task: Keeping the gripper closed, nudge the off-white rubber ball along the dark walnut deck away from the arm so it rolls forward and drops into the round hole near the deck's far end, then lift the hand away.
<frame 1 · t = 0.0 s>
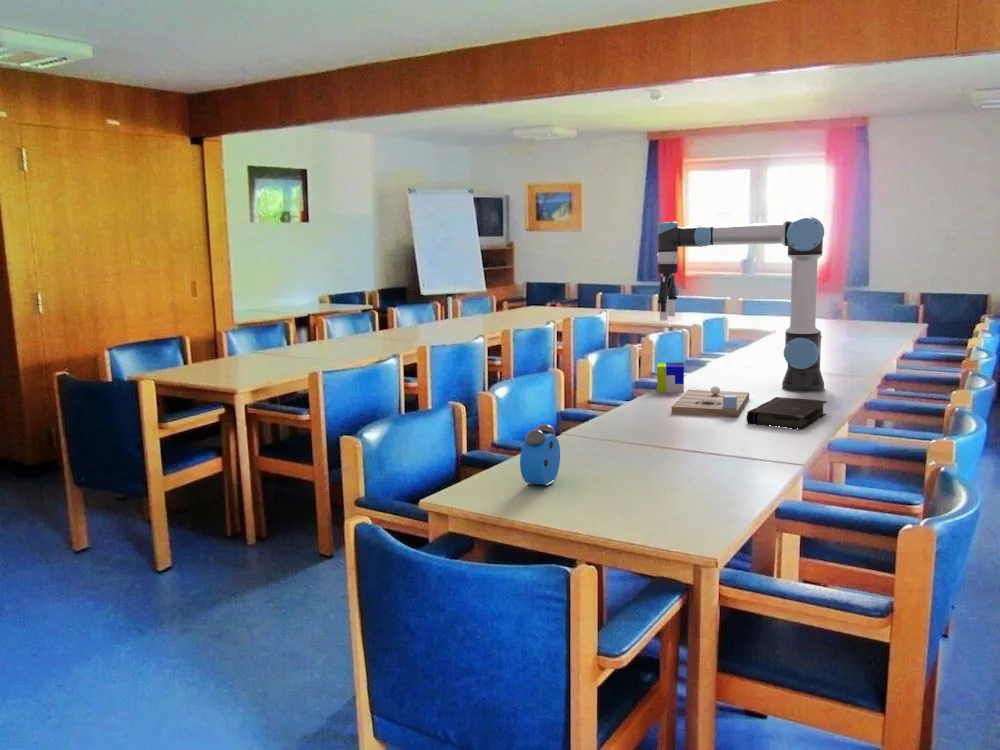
hand: (667, 318, 316), 28 cm above the table, tool pointing down, fingers open, 13 cm apart
blue block: (729, 407, 275), point 2 cm above the table, touching deck
ball: (715, 390, 296), point 4 cm above the table, touching deck
deck: (711, 405, 291), on the table
puzzle toy: (670, 390, 321), on the table
alarm clock: (541, 484, 209), on the table
diary: (788, 421, 268), on the table
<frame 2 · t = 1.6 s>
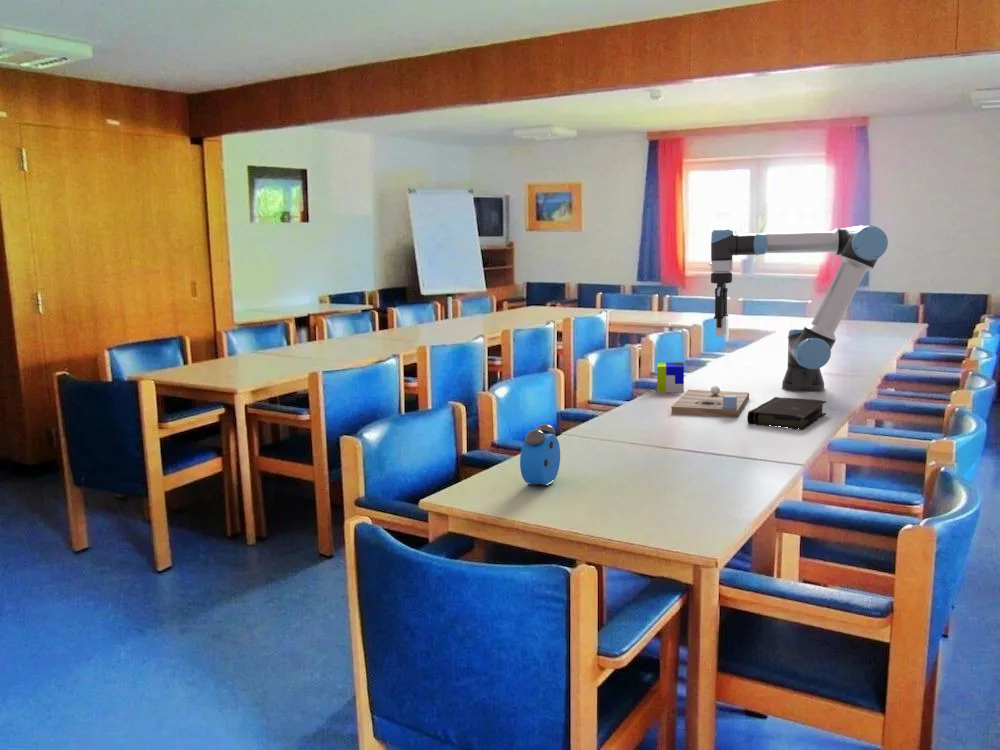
hand: (720, 335, 303), 23 cm above the table, tool pointing down, fingers open, 5 cm apart
nothing on the table moved.
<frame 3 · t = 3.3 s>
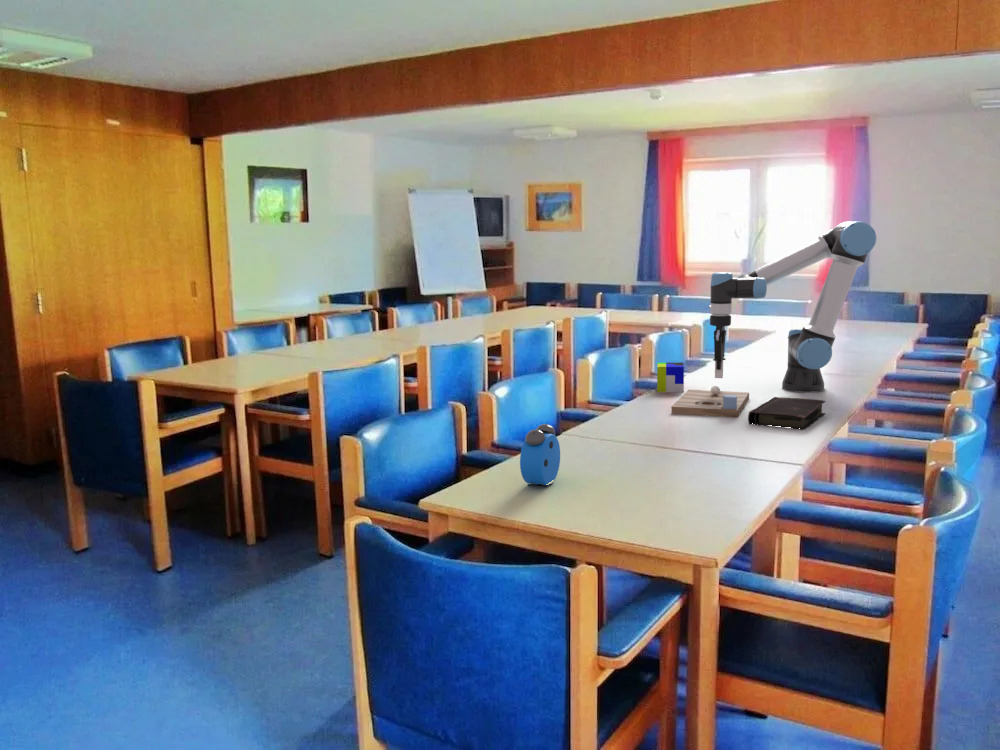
hand: (718, 377, 305), 7 cm above the table, tool pointing down, fingers closed
nothing on the table moved.
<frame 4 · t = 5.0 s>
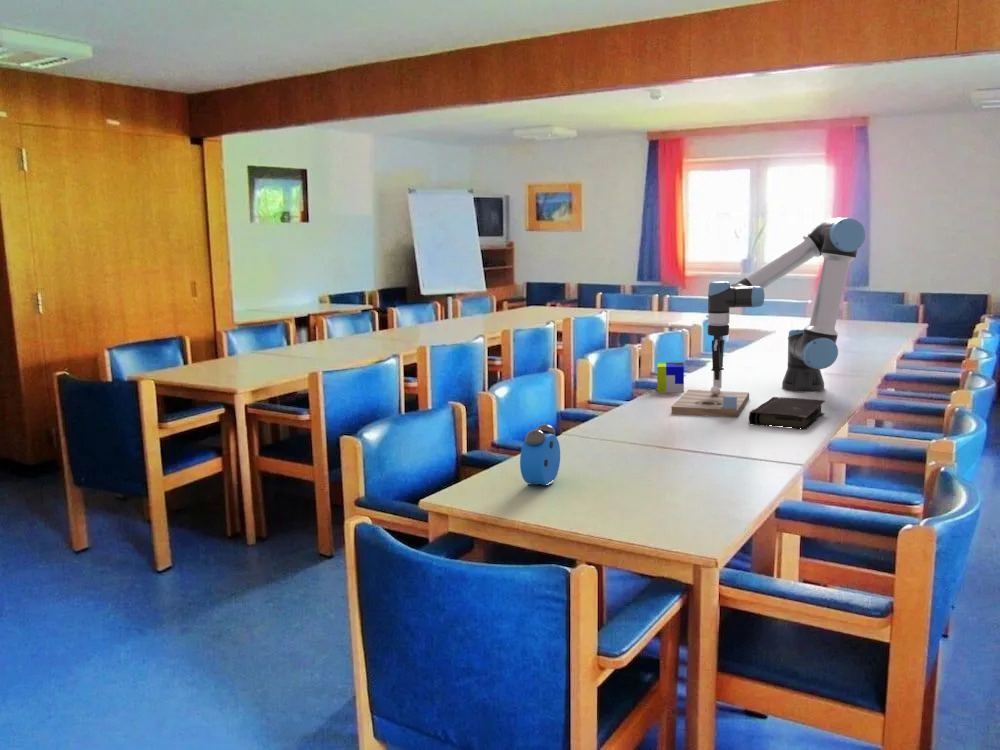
hand: (717, 387, 302), 4 cm above the table, tool pointing down, fingers closed
nothing on the table moved.
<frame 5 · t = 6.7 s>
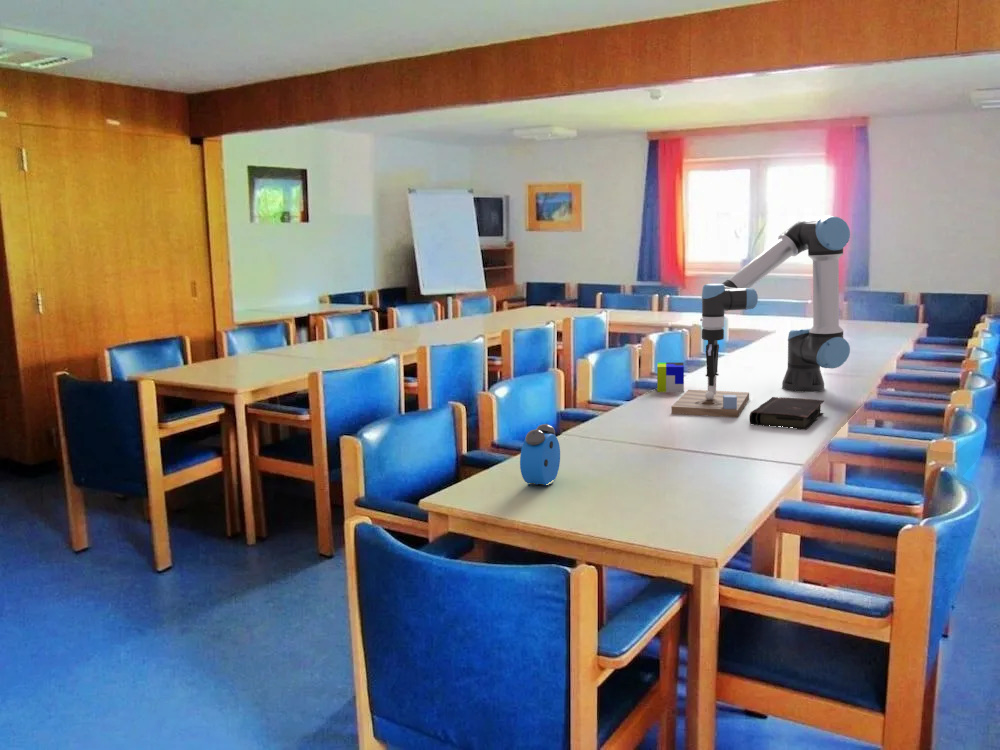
hand: (711, 394, 291), 4 cm above the table, tool pointing down, fingers closed
ball: (709, 395, 288), point 4 cm above the table, tilted 18°, touching deck
everything else where it was.
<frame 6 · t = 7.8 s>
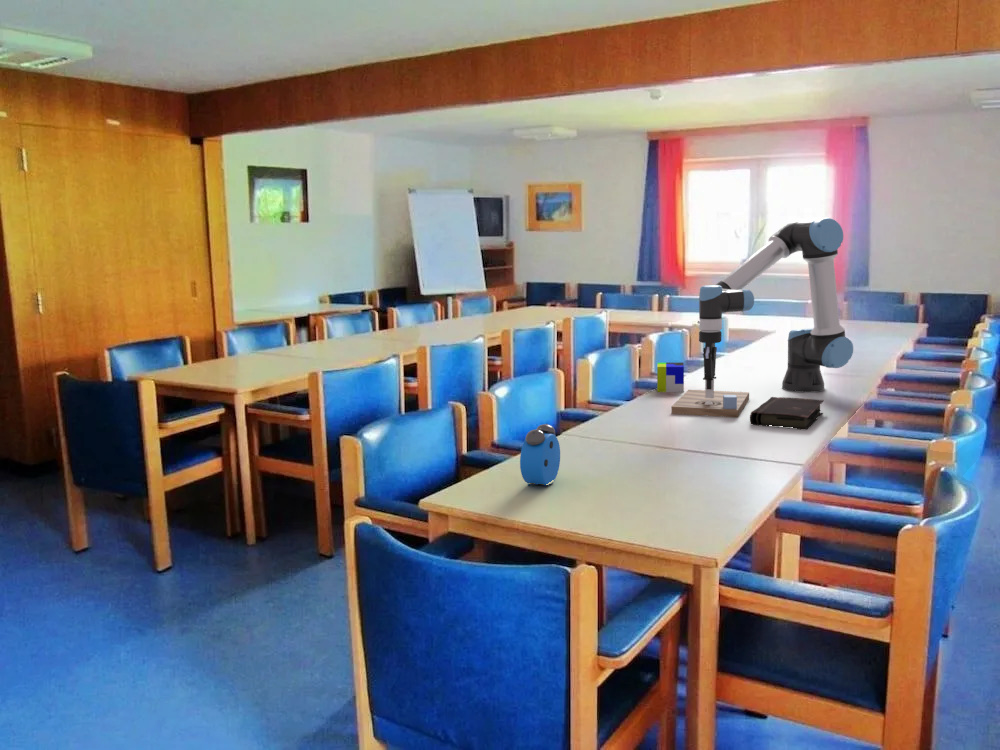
hand: (709, 397, 286), 4 cm above the table, tool pointing down, fingers closed
ball: (708, 405, 284), point 2 cm above the table, tilted 138°
everything else where it was.
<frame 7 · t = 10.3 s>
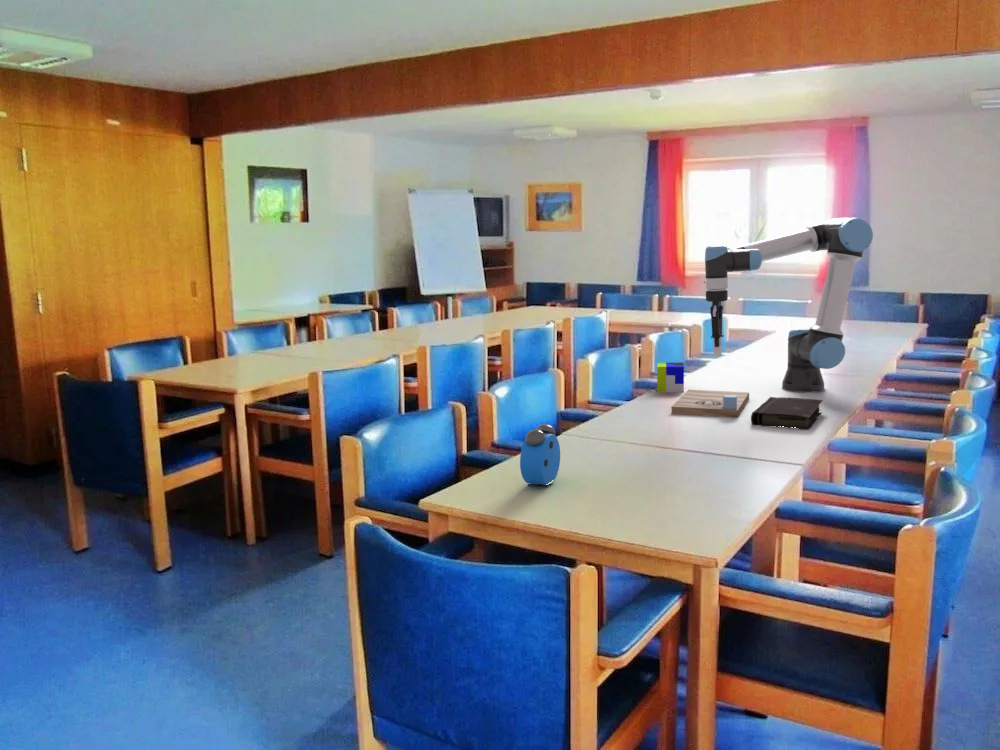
hand: (717, 355, 294), 17 cm above the table, tool pointing down, fingers closed
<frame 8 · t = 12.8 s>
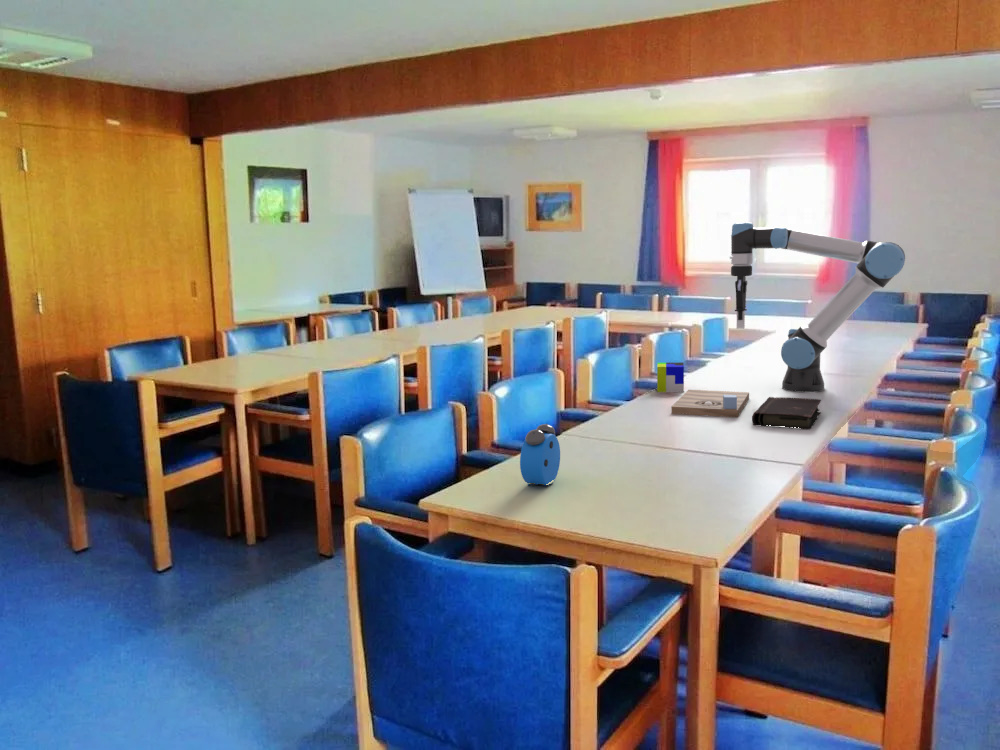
hand: (740, 328, 307), 24 cm above the table, tool pointing down, fingers closed
ball: (708, 406, 283), point 2 cm above the table, tilted 131°
at the end: ball 0.3 cm from the target spot in the deck, point 1.6 cm above the deck's base; blue block moved 0.0 cm from its start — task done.
